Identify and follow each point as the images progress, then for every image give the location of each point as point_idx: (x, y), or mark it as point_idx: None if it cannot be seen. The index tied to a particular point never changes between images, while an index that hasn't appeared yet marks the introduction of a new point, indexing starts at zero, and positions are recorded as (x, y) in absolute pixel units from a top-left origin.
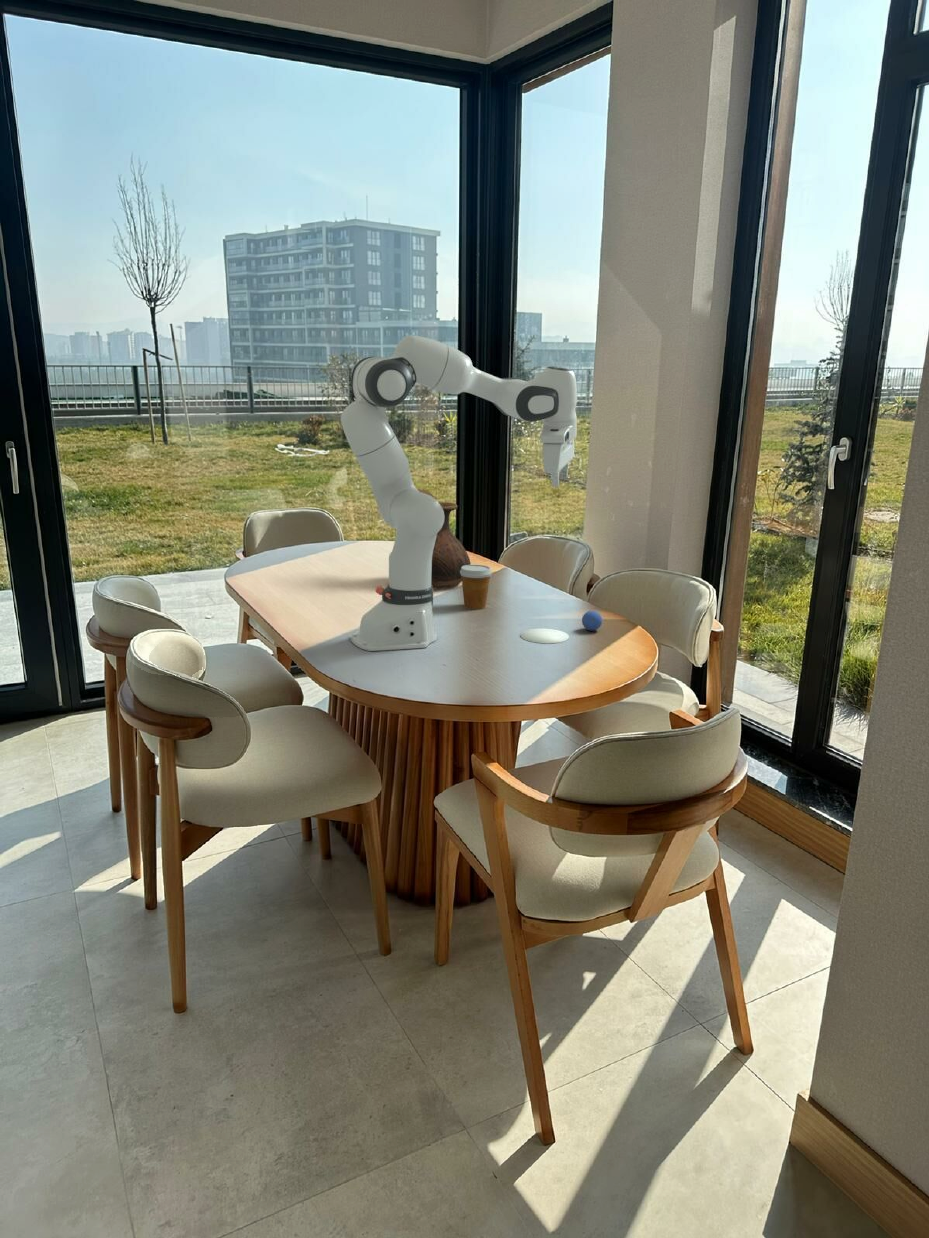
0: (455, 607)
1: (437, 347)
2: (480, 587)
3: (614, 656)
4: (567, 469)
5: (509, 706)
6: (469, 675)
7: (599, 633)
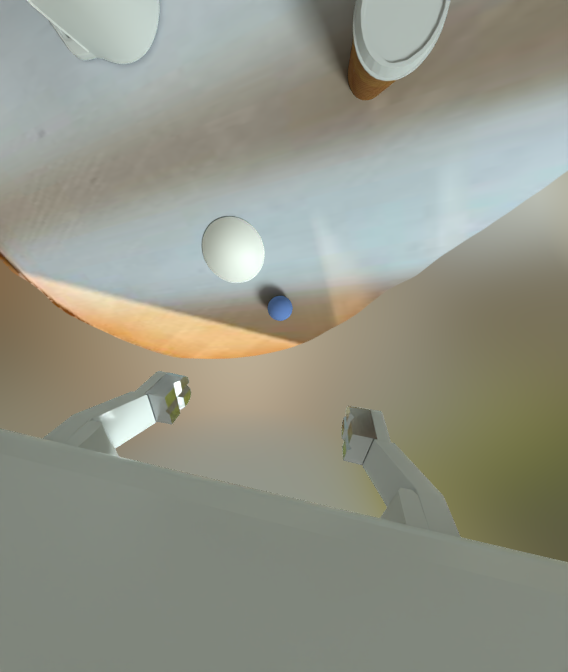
0: None
1: None
2: (356, 68)
3: (199, 332)
4: (372, 481)
5: (3, 258)
6: (38, 188)
7: None
